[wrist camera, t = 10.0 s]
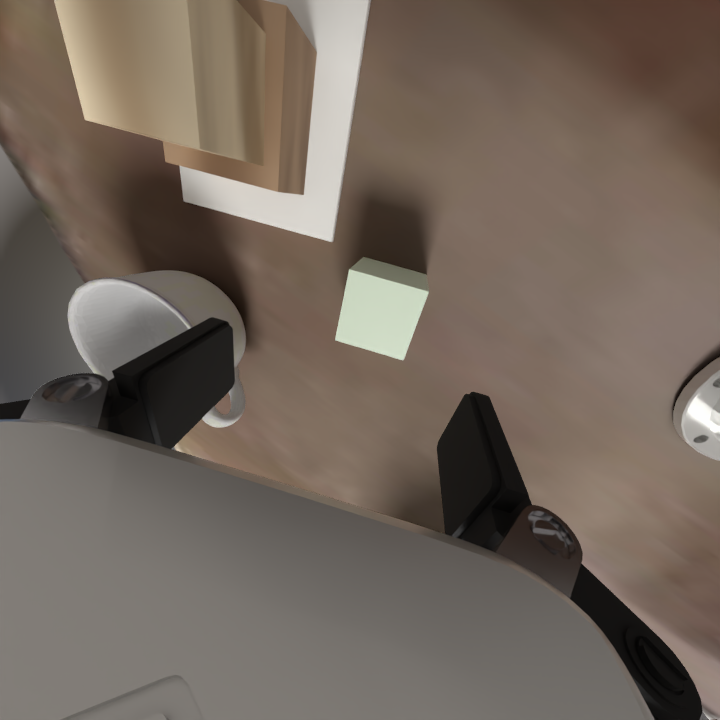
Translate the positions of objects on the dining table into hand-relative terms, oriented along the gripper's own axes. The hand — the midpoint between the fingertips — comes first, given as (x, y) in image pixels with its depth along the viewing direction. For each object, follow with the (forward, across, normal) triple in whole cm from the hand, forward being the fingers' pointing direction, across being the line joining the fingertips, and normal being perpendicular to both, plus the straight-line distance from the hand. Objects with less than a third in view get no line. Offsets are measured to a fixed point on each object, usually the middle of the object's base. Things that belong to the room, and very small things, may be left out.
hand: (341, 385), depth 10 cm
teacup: (+13, +14, +8) cm, 21 cm away
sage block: (+13, -1, 0) cm, 13 cm away
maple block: (+9, +10, -9) cm, 16 cm away
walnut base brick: (+13, +10, -9) cm, 19 cm away
